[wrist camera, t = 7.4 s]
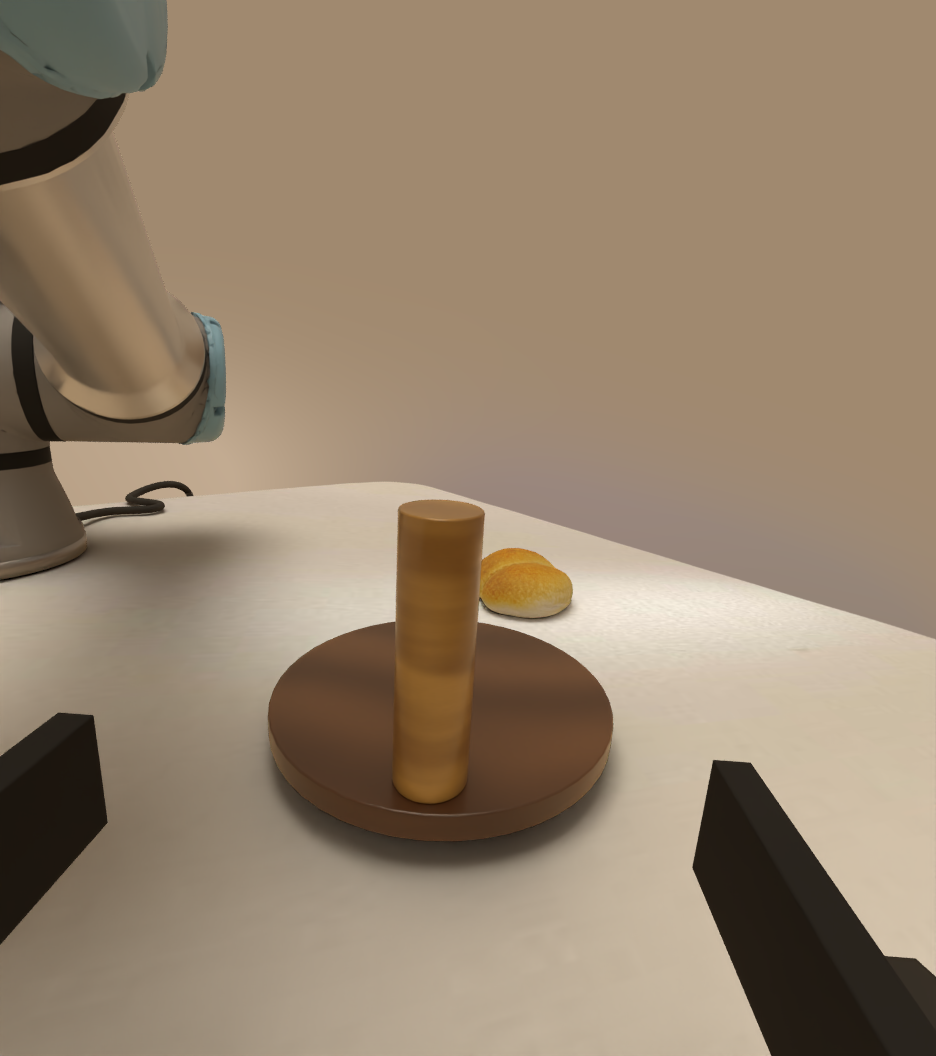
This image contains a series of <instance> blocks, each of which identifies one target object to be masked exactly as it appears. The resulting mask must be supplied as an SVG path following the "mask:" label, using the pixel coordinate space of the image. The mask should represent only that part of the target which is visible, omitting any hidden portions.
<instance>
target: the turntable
mask: <svg viewBox="0 0 936 1056" xmlns="http://www.w3.org/2000/svg"><path fill="white" fill-rule="evenodd" d="M484 517H485V513H484V510H483V509H482V508H480V507H478V506H475V505H472V504H469V503H464V502H458V501H450V500H419V501H412V502H408V503H405V504H402V505H401V506H400V507H399V509H398V535H397V579H396V622H389V623H384V624H379V625H373V626H369V627H365V628H362V629H358V630H354V631H351V632H349V633H346V634H343V635H340V636H338V637H335V638H333V639H331V640H328V641H326V642H324V643H322V644H321V645H319V646H317V647H315V648H313V649H312V650H310V651H309V652H307V653H306V654H304V655H303V656H302V657H300V658H299V659H298V660H297V661H296V662H295V663H293V664H292V665H291V666H290V667H289V668H288V669H287V671H286V672H285V673H284V674H283V675H282V676H281V678H280V680H279V681H278V683H277V685H276V686H275V688H274V690H273V693H272V696H271V699H270V702H269V710H268V730H269V741H270V748H271V752H272V754H273V757H274V760H275V762H276V765H277V766H278V768H279V769H280V771H281V773H282V774H283V776H284V777H285V779H286V780H287V781H288V783H289V784H290V785H291V786H292V787H293V788H294V789H295V790H296V791H297V792H298V793H299V794H300V795H301V796H302V797H304V798H305V799H307V800H308V801H309V802H311V803H312V804H313V805H315V806H316V807H317V808H319V809H320V810H322V811H324V812H326V813H328V814H330V815H332V816H334V817H335V818H337V819H339V820H341V821H344V822H346V823H349V824H352V825H354V826H357V827H360V828H362V829H365V830H368V831H372V832H377V833H381V834H385V835H389V836H393V837H399V838H407V839H414V840H422V841H465V840H477V839H485V838H490V837H495V836H501V835H506V834H511V833H514V832H517V831H520V830H523V829H526V828H529V827H532V826H535V825H538V824H540V823H542V822H544V821H546V820H548V819H550V818H552V817H555V816H557V815H558V814H560V813H561V812H563V811H564V810H566V809H567V808H569V807H571V806H572V805H574V804H575V803H576V802H577V801H578V800H579V799H581V798H582V797H583V796H584V795H585V794H586V793H587V792H588V791H589V790H590V789H591V788H592V786H593V785H594V784H595V782H596V781H597V780H598V778H599V777H600V776H601V774H602V772H603V769H604V767H605V765H606V763H607V761H608V756H609V751H610V746H611V739H612V732H613V714H612V710H611V706H610V702H609V700H608V697H607V695H606V693H605V691H604V689H603V688H602V686H601V685H600V684H599V682H598V681H597V679H596V678H595V677H594V676H593V675H592V674H591V673H590V672H589V671H588V670H587V669H586V668H585V667H584V666H583V665H582V664H580V663H579V662H578V661H577V660H576V659H574V658H573V657H571V656H570V655H568V654H567V653H565V652H564V651H562V650H560V649H558V648H556V647H555V646H553V645H551V644H549V643H547V642H544V641H542V640H540V639H538V638H535V637H533V636H530V635H527V634H524V633H521V632H518V631H515V630H511V629H508V628H504V627H499V626H495V625H490V624H485V623H478V609H479V594H480V578H481V563H482V547H483V532H484Z"/></svg>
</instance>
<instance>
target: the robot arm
mask: <svg viewBox="0 0 936 1056" xmlns="http://www.w3.org/2000/svg"><path fill="white" fill-rule="evenodd" d="M167 25H168V24H167V2H166V0H0V580H1V579H6V578H12V577H16V576H21V575H26V574H30V573H34V572H38V571H41V570H45V569H48V568H52V567H55V566H58V565H60V564H63V563H65V562H68V561H70V560H72V559H74V558H76V557H78V556H79V555H81V554H82V553H83V552H84V551H85V550H86V549H87V539H86V531H85V530H84V526H83V523H82V522H81V521H82V520H87V519H91V518H96V517H102V516H109V515H120V514H142V513H153V512H157V511H160V510H162V509H164V507H165V505H164V503H163V502H162V501H158V500H152V499H144V498H137V497H138V496H140V495H143V494H145V493H147V492H150V491H153V490H156V489H160V488H168V487H170V488H177V489H180V490H182V491H183V492H185V494H186V496H187V497H188V496H194V495H193V493H192V492H191V490H190V489H189V488H188V487H187V486H186V485H184V484H182V483H179V482H175V481H164V482H158V483H154V484H150V485H147V486H144V487H142V488H139V489H137V490H135V491H133V492H131V493H129V494H128V495H127V496H126V498H125V499H126V501H127V502H129V503H131V504H137V505H144V506H131V507H112V508H103V509H96V510H91V511H86V512H80V513H75V512H74V510H73V507H72V505H71V503H70V501H69V499H68V497H67V495H66V493H65V491H64V489H63V487H62V485H61V483H60V482H59V480H58V478H57V476H56V474H55V472H54V469H53V464H52V459H51V452H50V441H64V442H65V441H88V442H91V441H92V442H148V443H179V444H183V445H189V444H191V443H196V442H197V443H198V442H210V441H214V440H215V439H217V438H218V437H219V436H220V435H221V433H222V431H223V427H224V419H225V407H224V404H225V397H226V368H225V349H224V339H223V334H222V330H221V326H220V324H219V322H218V321H217V320H216V319H214V318H212V317H207V316H202V315H201V314H199V313H194V312H191V313H190V312H189V311H188V309H187V308H186V307H185V306H184V305H183V304H182V303H181V302H180V301H179V300H178V299H177V298H176V297H175V296H174V295H172V294H171V293H169V292H168V291H167V290H166V289H165V286H164V283H163V280H162V277H161V274H160V271H159V268H158V265H157V262H156V259H155V256H154V253H153V250H152V247H151V244H150V240H149V237H148V234H147V231H146V229H145V226H144V222H143V219H142V216H141V213H140V210H139V208H138V204H137V201H136V198H135V195H134V192H133V189H132V187H131V183H130V180H129V177H128V175H127V171H126V168H125V165H124V162H123V159H122V156H121V153H120V150H119V147H118V144H117V141H116V138H115V135H114V132H113V130H114V129H115V127H116V126H117V124H118V122H119V120H120V118H121V116H122V114H123V112H124V110H125V107H126V104H127V100H128V96H129V93H132V92H137V91H145V90H146V89H148V88H150V87H152V86H153V85H155V83H156V82H157V81H158V79H159V77H160V75H161V74H162V71H163V67H164V63H165V57H166V48H167V28H168V26H167ZM107 823H108V821H107V813H106V806H105V798H104V791H103V783H102V776H101V768H100V761H99V753H98V746H97V739H96V731H95V724H94V716H93V715H83V714H69V713H57V714H56V715H55V716H53V717H52V718H51V719H49V720H48V721H47V722H45V723H44V724H43V725H41V726H40V727H39V728H37V729H36V730H35V731H33V732H32V733H31V734H29V735H28V736H27V737H25V738H24V739H23V740H21V741H20V742H19V743H17V744H16V745H15V746H13V747H12V748H11V749H9V750H8V751H7V752H5V753H4V754H3V755H1V756H0V944H1V943H2V942H3V941H4V940H5V939H6V938H7V936H8V935H9V934H10V933H11V932H12V931H13V930H14V929H15V927H16V926H17V925H18V924H19V923H20V922H21V921H22V919H23V918H24V917H25V916H26V915H27V914H28V913H29V911H30V910H31V909H32V908H33V907H34V906H35V905H36V904H37V902H38V901H39V900H40V899H41V898H42V897H43V896H44V894H45V893H46V892H47V891H48V890H49V889H50V888H51V886H52V885H53V884H54V883H55V882H56V881H57V880H58V879H59V877H60V876H61V875H62V874H63V873H64V872H65V871H66V869H67V868H68V867H69V866H70V865H71V864H72V863H73V861H74V860H75V859H76V858H77V857H78V856H79V855H80V854H81V852H82V851H83V850H84V849H85V848H86V847H87V846H88V844H89V843H90V842H91V841H92V840H93V839H94V838H95V836H96V835H97V834H98V833H99V832H100V831H101V830H102V828H103V827H104V826H105V825H106V824H107ZM692 868H693V870H694V873H695V875H696V877H697V880H698V882H699V885H700V887H701V889H702V892H703V894H704V896H705V899H706V901H707V904H708V906H709V908H710V911H711V913H712V915H713V918H714V920H715V923H716V925H717V927H718V930H719V932H720V935H721V937H722V939H723V942H724V944H725V946H726V949H727V951H728V954H729V956H730V958H731V961H732V963H733V965H734V968H735V970H736V973H737V975H738V977H739V980H740V982H741V985H742V987H743V989H744V992H745V994H746V996H747V999H748V1001H749V1004H750V1006H751V1008H752V1011H753V1013H754V1015H755V1018H756V1020H757V1023H758V1025H759V1027H760V1030H761V1032H762V1035H763V1037H764V1039H765V1042H766V1044H767V1046H768V1049H769V1051H770V1054H771V1056H936V977H935V976H934V975H933V974H932V973H931V972H930V971H929V970H928V969H927V968H925V967H924V966H923V965H922V964H921V963H920V962H919V961H918V960H917V959H914V958H901V957H889V956H884V955H883V953H882V952H881V950H880V949H879V948H878V946H877V945H876V943H875V942H874V940H873V939H872V937H871V936H870V935H869V933H868V932H867V930H866V929H865V927H864V926H863V924H862V923H861V922H860V920H859V919H858V917H857V916H856V914H855V913H854V911H853V910H852V909H851V907H850V906H849V904H848V903H847V901H846V900H845V898H844V897H843V896H842V894H841V893H840V891H839V890H838V888H837V887H836V885H835V884H834V883H833V881H832V880H831V878H830V877H829V875H828V874H827V872H826V871H825V870H824V868H823V867H822V865H821V864H820V862H819V861H818V859H817V858H816V857H815V855H814V854H813V852H812V851H811V849H810V848H809V846H808V845H807V844H806V842H805V841H804V839H803V838H802V836H801V835H800V833H799V832H798V831H797V829H796V828H795V826H794V825H793V823H792V822H791V820H790V819H789V818H788V816H787V815H786V813H785V812H784V810H783V809H782V807H781V806H780V805H779V803H778V802H777V800H776V799H775V797H774V796H773V794H772V793H771V792H770V790H769V789H768V787H767V786H766V784H765V783H764V781H763V780H762V779H761V777H760V776H759V774H758V773H757V771H756V770H755V768H754V767H753V766H752V764H751V763H747V762H733V761H720V760H713V764H712V769H711V774H710V780H709V785H708V790H707V795H706V800H705V805H704V811H703V816H702V821H701V826H700V831H699V836H698V842H697V847H696V852H695V857H694V862H693V867H692Z"/></svg>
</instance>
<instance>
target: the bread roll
mask: <svg viewBox="0 0 936 1056" xmlns="http://www.w3.org/2000/svg"><path fill="white" fill-rule="evenodd" d="M572 594H573V588H572V583H571V580H570V579H569V577H568V576H567V575H566V574H565V573H563V572H562V571H560V570H558V569H556V568H555V567H554V566H553V565H552V564H551V563H550V562H549V561H548V560H546V559H545V558H544V557H543V556H541V555H539V554H537V553H536V552H532V551H529V550H525V549H520V548H507V549H502V550H499V551H496V552H494V553H492V554H490V555H489V556H487V557H486V558H484V559H483V560H482V563H481V578H480V594H479V597H480V598H481V599H482V601H483V603H484V604H485V605H486V606H487V607H488V608H489V609H490V610H492V611H494V612H497V613H500V614H506V615H511V616H516V617H523V618H540V617H547V616H551V615H554V614H556V613H559V612H561V611H562V610H563V609H565V608H566V607H567V606H568V605H569V604H570V602H571V598H572Z"/></svg>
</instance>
